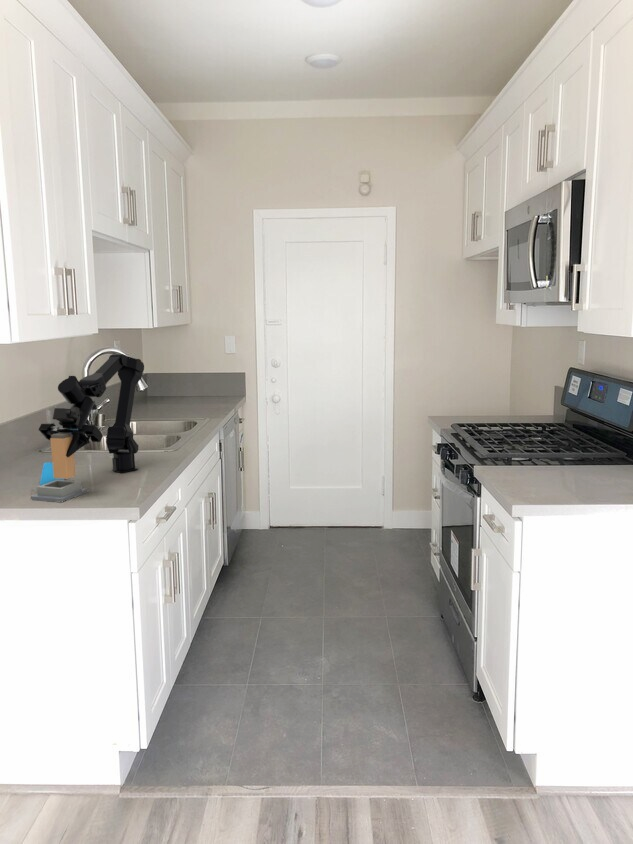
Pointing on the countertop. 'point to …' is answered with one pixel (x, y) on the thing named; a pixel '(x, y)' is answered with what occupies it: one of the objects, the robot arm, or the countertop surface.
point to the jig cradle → (59, 490)
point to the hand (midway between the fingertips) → (60, 456)
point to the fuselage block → (62, 456)
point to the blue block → (48, 474)
